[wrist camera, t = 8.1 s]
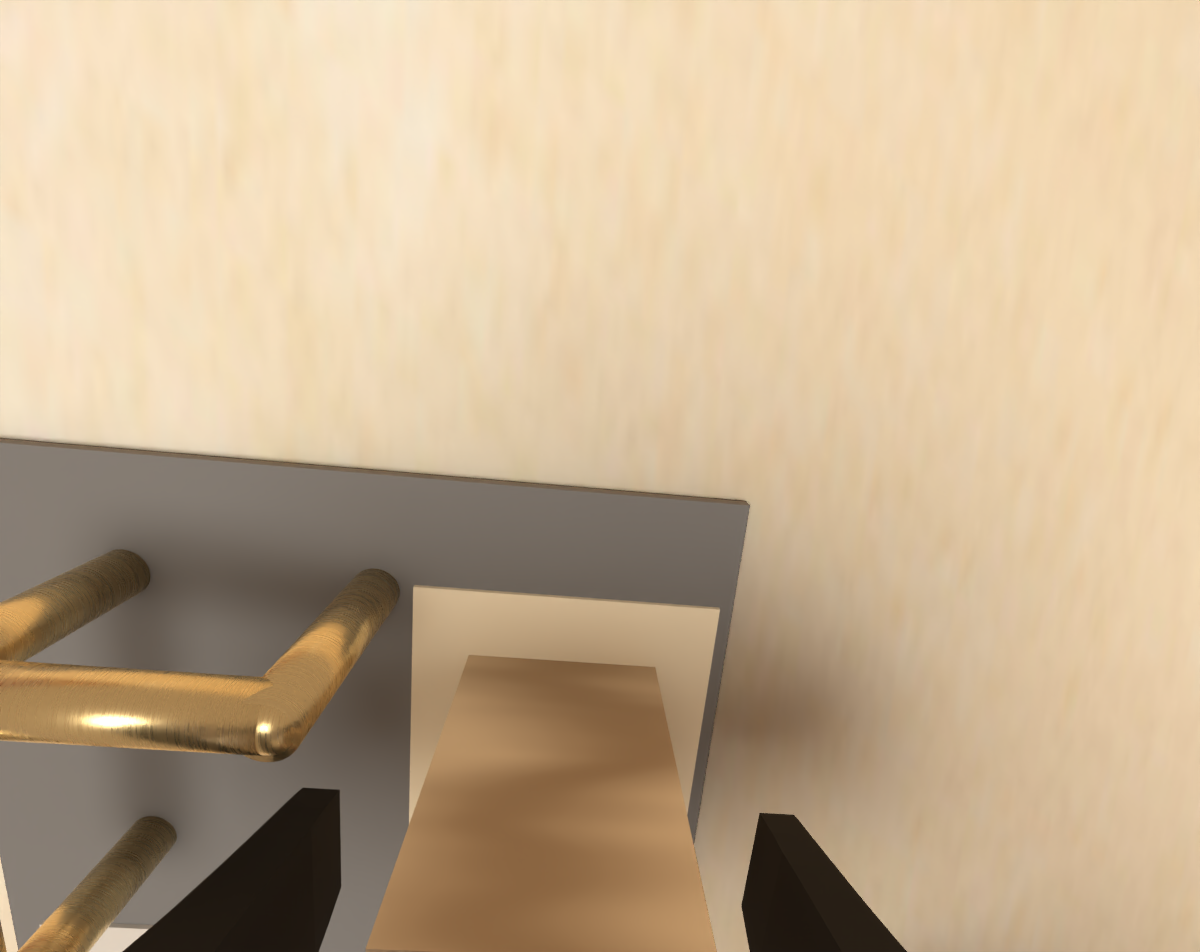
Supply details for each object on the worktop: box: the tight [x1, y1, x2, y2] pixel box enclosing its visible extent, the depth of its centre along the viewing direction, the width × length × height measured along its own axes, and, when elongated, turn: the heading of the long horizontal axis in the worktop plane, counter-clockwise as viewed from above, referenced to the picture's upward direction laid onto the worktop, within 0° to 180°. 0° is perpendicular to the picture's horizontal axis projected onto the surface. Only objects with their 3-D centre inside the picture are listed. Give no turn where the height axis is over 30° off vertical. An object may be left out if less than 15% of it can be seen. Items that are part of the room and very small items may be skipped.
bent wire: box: [0, 549, 400, 952], centre depth 10 cm, size 6×8×4 cm
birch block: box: [366, 655, 717, 952], centre depth 10 cm, size 4×4×6 cm
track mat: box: [0, 439, 750, 952], centre depth 13 cm, size 16×17×1 cm
